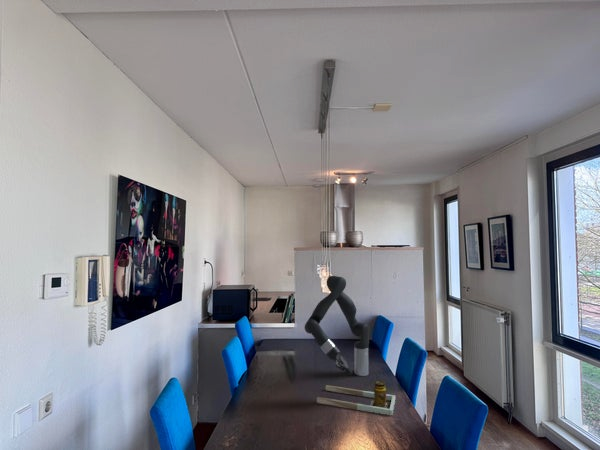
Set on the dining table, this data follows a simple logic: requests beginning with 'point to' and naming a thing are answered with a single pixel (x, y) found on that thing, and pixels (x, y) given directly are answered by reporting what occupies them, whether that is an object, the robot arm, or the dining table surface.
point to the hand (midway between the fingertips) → (351, 374)
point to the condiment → (379, 395)
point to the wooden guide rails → (338, 402)
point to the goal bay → (377, 409)
